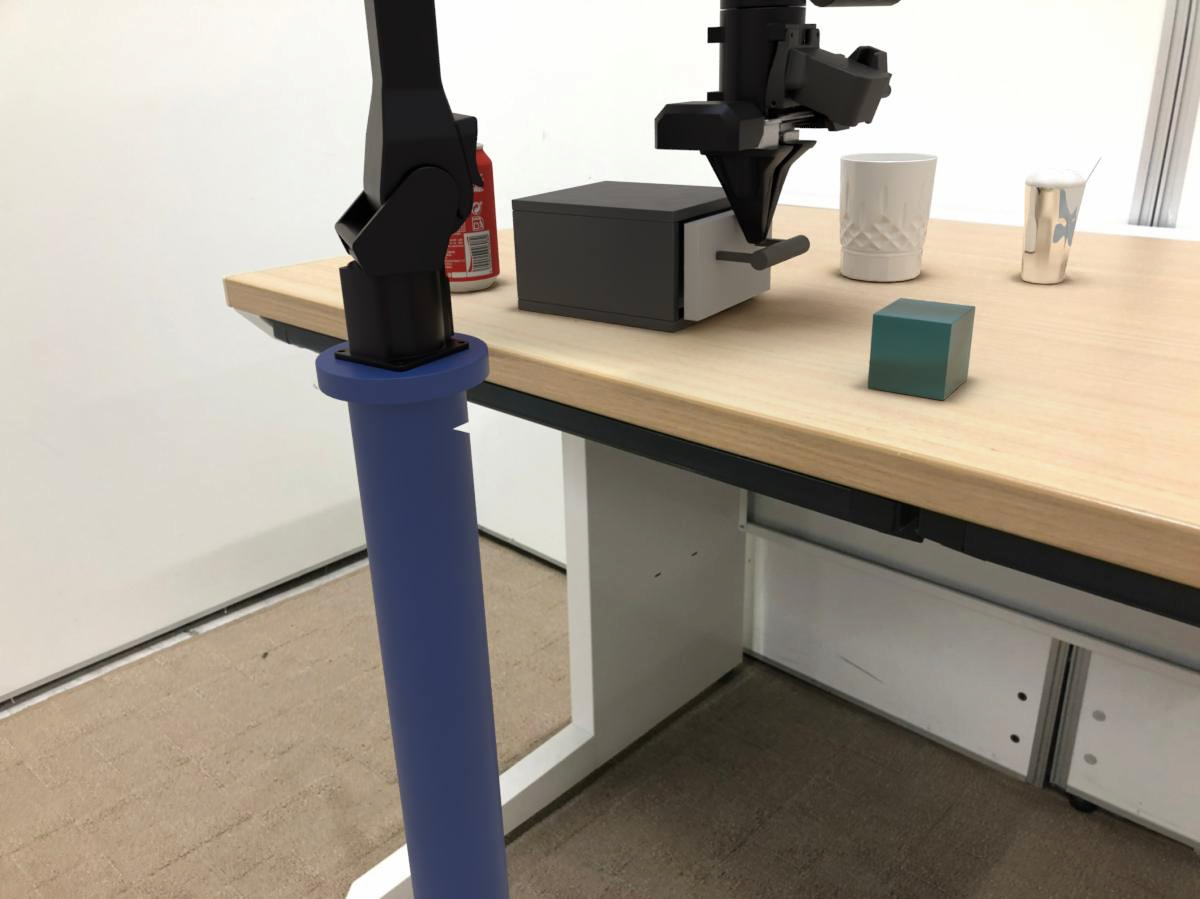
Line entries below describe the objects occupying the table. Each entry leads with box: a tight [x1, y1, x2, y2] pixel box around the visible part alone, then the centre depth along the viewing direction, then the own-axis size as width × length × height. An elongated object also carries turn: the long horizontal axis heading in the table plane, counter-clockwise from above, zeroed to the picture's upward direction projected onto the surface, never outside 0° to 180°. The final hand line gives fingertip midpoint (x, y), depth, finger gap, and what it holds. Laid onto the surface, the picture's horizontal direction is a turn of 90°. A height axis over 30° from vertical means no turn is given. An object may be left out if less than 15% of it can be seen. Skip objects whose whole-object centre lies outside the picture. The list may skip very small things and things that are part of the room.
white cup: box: [838, 151, 939, 283], centre depth 85 cm, size 8×8×10 cm
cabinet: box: [511, 180, 749, 333], centre depth 78 cm, size 15×13×9 cm
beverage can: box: [445, 142, 501, 293], centre depth 85 cm, size 6×6×12 cm
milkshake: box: [1020, 157, 1102, 285], centre depth 81 cm, size 5×5×10 cm
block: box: [867, 297, 976, 401], centre depth 58 cm, size 4×4×4 cm
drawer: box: [678, 207, 811, 322], centre depth 76 cm, size 18×11×7 cm, turn 55°
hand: (756, 243), depth 72 cm, fingers closed
